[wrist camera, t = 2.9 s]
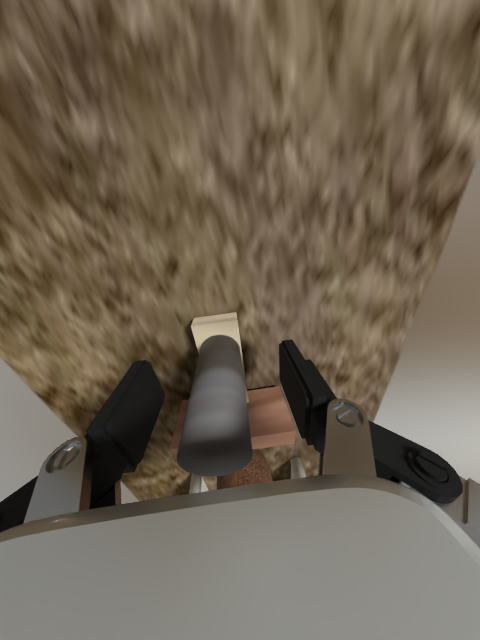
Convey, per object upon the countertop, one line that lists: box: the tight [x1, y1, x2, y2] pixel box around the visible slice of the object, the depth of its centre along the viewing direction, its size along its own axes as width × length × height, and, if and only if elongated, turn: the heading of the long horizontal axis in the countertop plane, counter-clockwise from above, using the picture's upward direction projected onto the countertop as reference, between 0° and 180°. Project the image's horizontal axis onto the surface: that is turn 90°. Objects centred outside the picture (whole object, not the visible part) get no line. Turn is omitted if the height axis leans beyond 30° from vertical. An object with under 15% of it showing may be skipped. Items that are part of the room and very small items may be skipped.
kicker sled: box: [170, 312, 295, 476], centre depth 11 cm, size 10×9×8 cm
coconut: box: [217, 449, 272, 490], centre depth 16 cm, size 5×5×8 cm
